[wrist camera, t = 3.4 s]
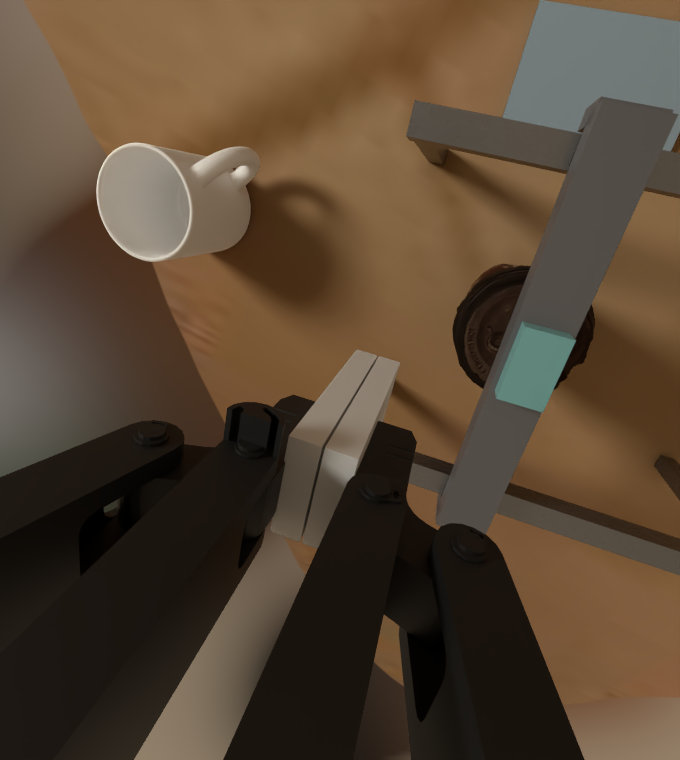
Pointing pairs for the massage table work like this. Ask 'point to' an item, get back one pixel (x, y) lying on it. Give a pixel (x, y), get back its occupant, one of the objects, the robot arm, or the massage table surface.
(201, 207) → the mug
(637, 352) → the massage table surface
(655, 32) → the mat
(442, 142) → the frame
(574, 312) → the bar
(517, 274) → the coffee cup
